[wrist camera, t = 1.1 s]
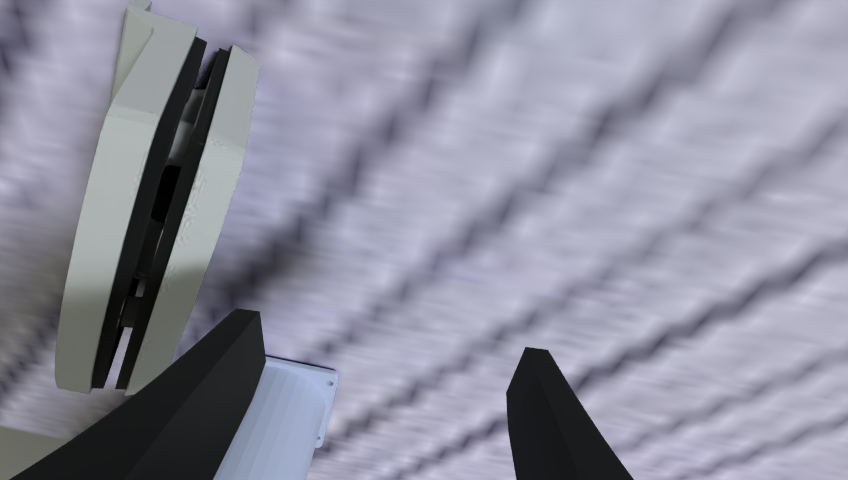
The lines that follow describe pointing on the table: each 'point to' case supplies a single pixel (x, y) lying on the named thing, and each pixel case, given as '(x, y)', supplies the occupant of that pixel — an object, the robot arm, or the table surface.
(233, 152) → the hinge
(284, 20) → the table surface
